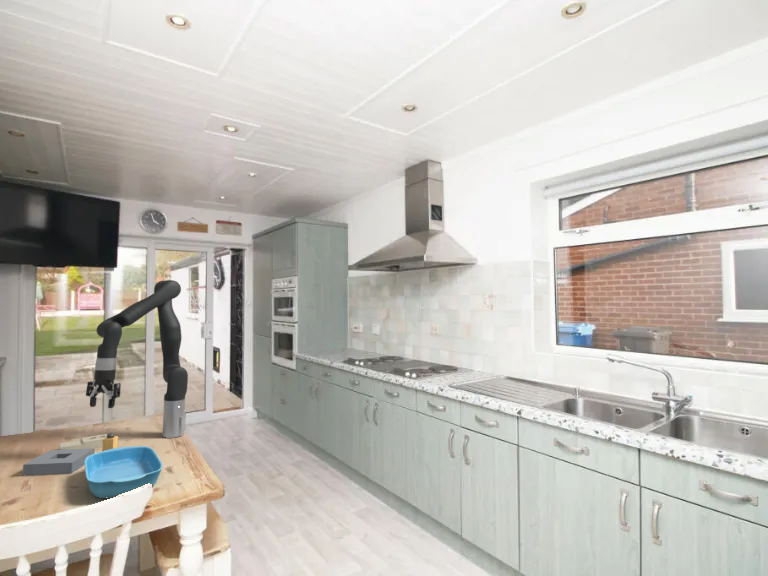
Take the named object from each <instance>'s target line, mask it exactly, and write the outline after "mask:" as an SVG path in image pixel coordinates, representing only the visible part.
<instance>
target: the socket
mask: <svg viewBox="0 0 768 576" xmlns="http://www.w3.org/2000/svg"><path fill="white" fill-rule="evenodd" d="M95 450H96V448H91V449H63V450H60V449H50V450H48V451H46V452H44V453H42V454H41V455H40V454H39V456H37V457H35V458H33V459H31V460H29V461H27V462H26V463H23V464H22V465H23V466H22V476H23V475H30V476H44V475H43V474H53V475H69V474H70V475H71V474H73V473H75V472H76V471H78V470H79V469H81V468H82V467H85V465H84V461H85V459H86V458H87V457H88V456H89V455H92V454H95V452H96V451H95ZM74 471H75V472H74Z"/></svg>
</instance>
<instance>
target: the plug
mask: <svg viewBox="0 0 768 576" xmlns="http://www.w3.org/2000/svg"><path fill="white" fill-rule="evenodd" d="M106 434H107V437H106V438H104V439H103V446H102V447H101V449H102V450H101V452H102V451H105V450H109V449H113V448H118V442H119V440H118V438H119V437H118V436H117V435H115V433H113V432H110V433H106Z"/></svg>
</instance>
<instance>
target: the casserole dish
mask: <svg viewBox="0 0 768 576" xmlns="http://www.w3.org/2000/svg"><path fill="white" fill-rule="evenodd" d="M163 466H164V465H163V461H162V460H161V459H160V457H159V455H158V453H156V451H155V449H153V448H152V447H150V446H146V445H142V446H140V445H138V446H121V447H120V446H119V447H117V448H113V449H109V450H105V451H102V450H101V451H100V452H94V454H92V455H89V456H88V457H87V458H86V459H85V461H84V473H85V477H86V481H87V485H88V488H89V490H90V492H91V494H92V495H93V496H94V497H96V498H98V497H99V498H98V499H101V498H106V497H108V498H106V499H112V498H111V497H113V498H115V497H114V496H117V495H119V494H122V493H125V492H128V491H131V490H133V489H136V488H138V487H141V486H143V485H145V484H148V483H150V484H152V487H153V486H155V485H156V483H157V481H158V480H159V477H160V474H161V472H162V469H163Z"/></svg>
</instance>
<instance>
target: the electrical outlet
mask: <svg viewBox="0 0 768 576" xmlns="http://www.w3.org/2000/svg"><path fill="white" fill-rule="evenodd" d="M107 434H108V433H105V434H98V435H94V436H93V435H91V436H85V437H82V438H80V439H79V440H73V441H66V442H60V443H59V450H63V449H91V448H95V449H99V448H98V447H100V448H102V446H103V439H104V438H106V437H107Z"/></svg>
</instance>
